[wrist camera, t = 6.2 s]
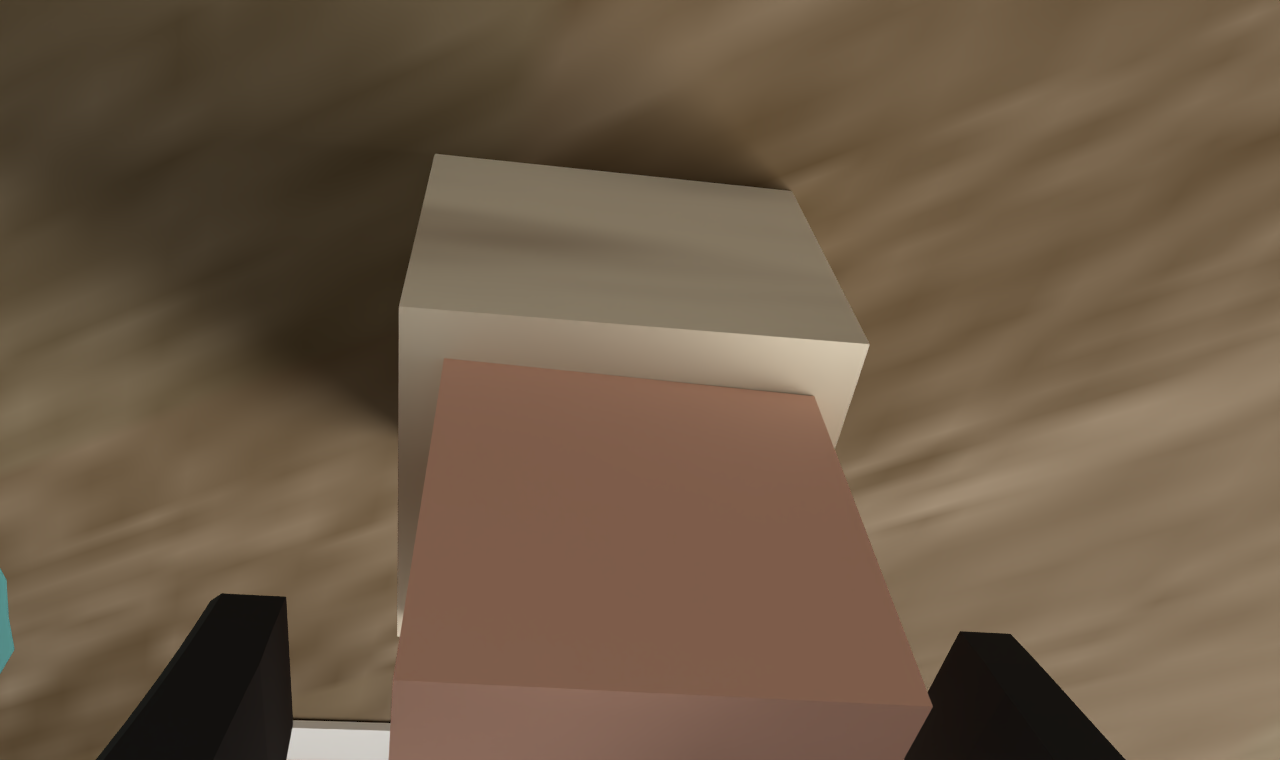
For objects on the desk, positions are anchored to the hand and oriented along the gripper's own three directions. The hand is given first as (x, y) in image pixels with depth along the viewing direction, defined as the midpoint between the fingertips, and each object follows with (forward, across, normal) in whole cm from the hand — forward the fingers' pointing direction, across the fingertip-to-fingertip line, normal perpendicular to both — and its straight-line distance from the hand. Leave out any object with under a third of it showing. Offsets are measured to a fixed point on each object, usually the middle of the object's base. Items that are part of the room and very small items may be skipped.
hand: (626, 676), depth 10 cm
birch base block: (+7, 0, 0) cm, 7 cm away
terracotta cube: (+3, 0, 0) cm, 3 cm away
